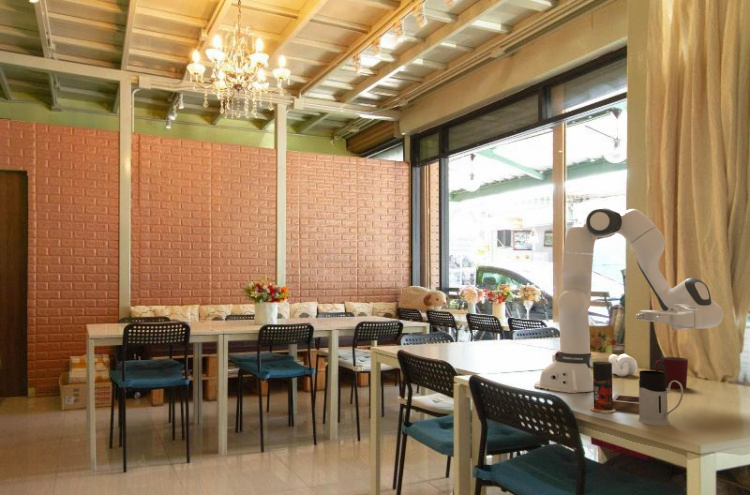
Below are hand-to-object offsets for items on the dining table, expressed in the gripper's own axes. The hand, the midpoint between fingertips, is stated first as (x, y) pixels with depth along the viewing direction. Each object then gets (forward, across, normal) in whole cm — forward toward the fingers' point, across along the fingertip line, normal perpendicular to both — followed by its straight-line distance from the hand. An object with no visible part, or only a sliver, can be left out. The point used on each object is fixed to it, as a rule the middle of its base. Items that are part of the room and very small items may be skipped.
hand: (646, 317), depth 203 cm
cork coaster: (+19, +1, +30) cm, 35 cm away
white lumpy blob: (-29, -52, +30) cm, 67 cm away
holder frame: (+8, +1, +30) cm, 31 cm away
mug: (-31, -25, +30) cm, 50 cm away
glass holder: (+12, +20, +30) cm, 38 cm away
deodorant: (+19, +2, +30) cm, 35 cm away
